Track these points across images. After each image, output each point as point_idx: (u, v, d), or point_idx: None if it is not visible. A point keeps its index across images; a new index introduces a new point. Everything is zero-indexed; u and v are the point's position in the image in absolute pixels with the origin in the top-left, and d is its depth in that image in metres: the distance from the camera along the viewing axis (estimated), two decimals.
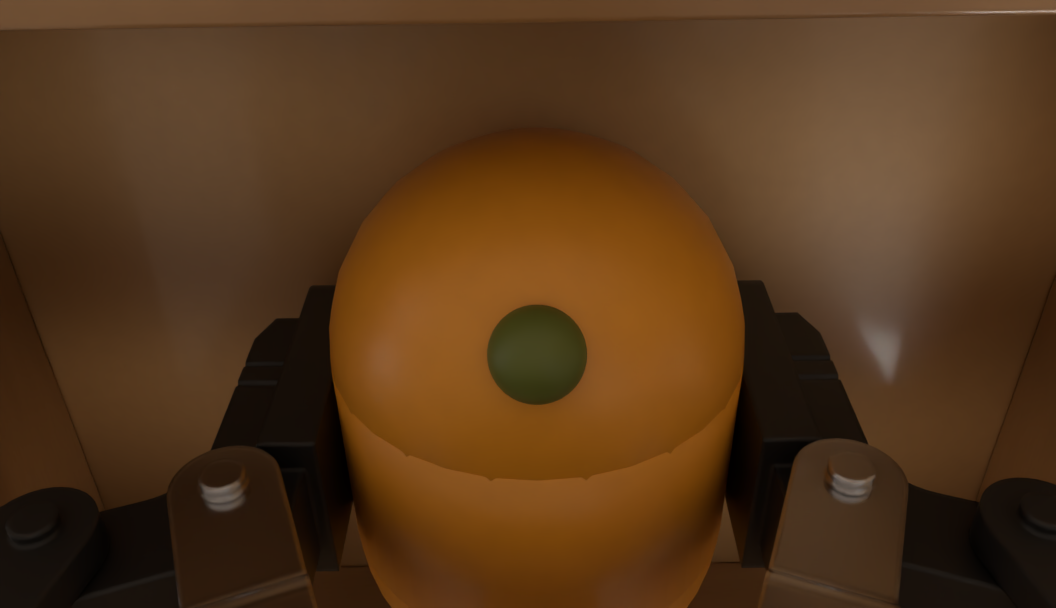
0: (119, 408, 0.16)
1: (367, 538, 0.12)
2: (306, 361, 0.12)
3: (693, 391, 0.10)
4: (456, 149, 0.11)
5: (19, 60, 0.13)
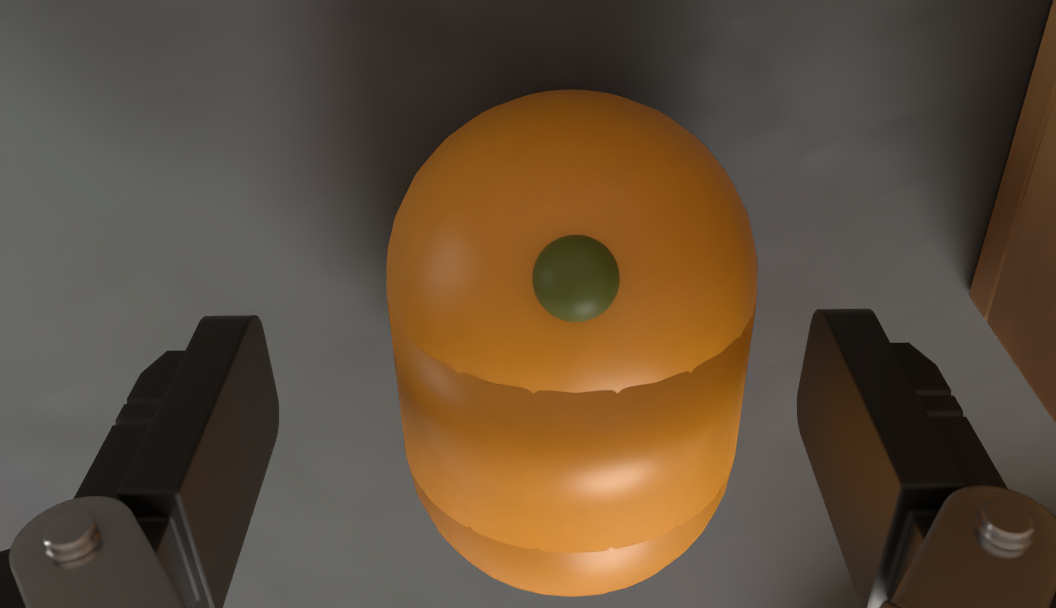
0: None
1: (417, 460, 0.14)
2: (184, 400, 0.12)
3: (711, 316, 0.12)
4: (501, 107, 0.13)
5: None
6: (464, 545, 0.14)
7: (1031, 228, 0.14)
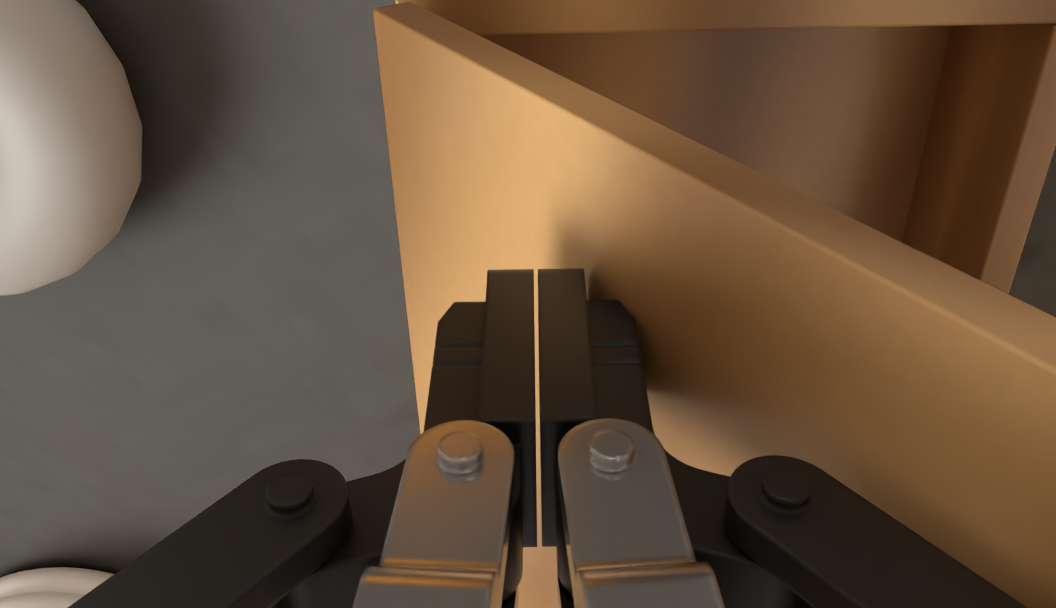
0: None
1: None
2: (505, 342, 0.13)
3: None
4: None
5: None
6: None
7: None
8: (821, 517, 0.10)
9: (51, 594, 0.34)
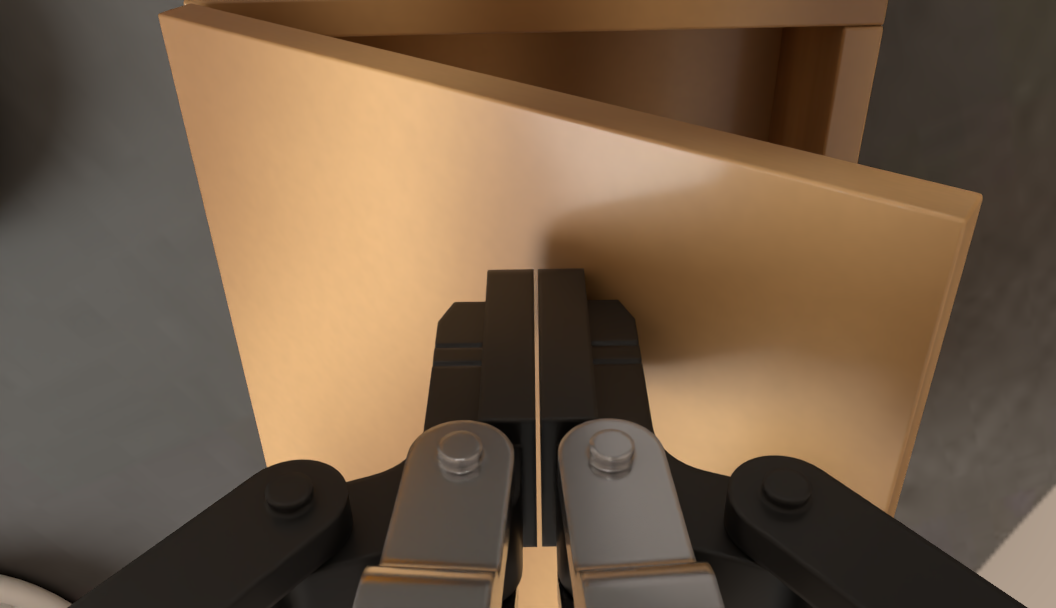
0: None
1: None
2: (504, 342, 0.13)
3: None
4: None
5: None
6: None
7: None
8: (821, 517, 0.10)
9: None
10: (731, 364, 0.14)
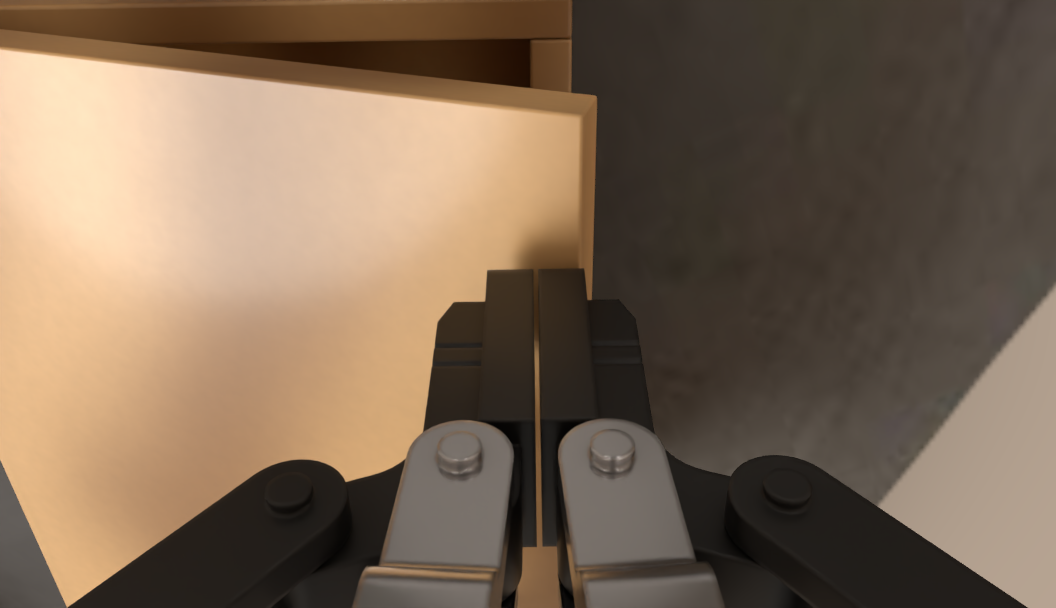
0: None
1: None
2: (504, 342, 0.13)
3: None
4: None
5: None
6: None
7: None
8: (821, 517, 0.10)
9: None
10: (430, 278, 0.15)
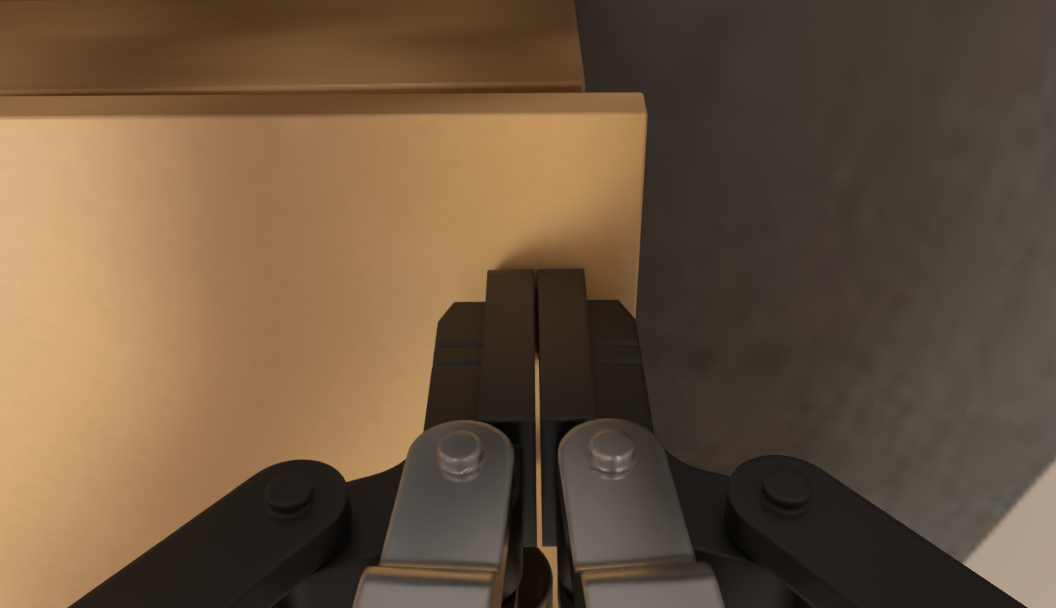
0: None
1: None
2: (504, 342, 0.13)
3: None
4: None
5: None
6: None
7: None
8: (821, 517, 0.10)
9: None
10: None
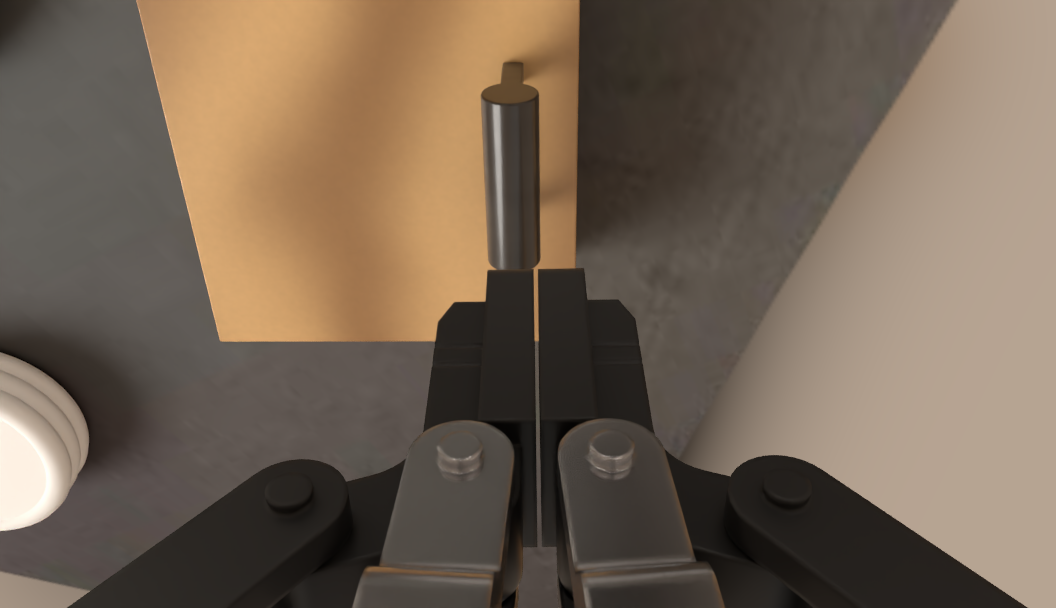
0: None
1: None
2: (504, 342, 0.13)
3: None
4: None
5: None
6: None
7: None
8: (821, 517, 0.10)
9: None
10: None
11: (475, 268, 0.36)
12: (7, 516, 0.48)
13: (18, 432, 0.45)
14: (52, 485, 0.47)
